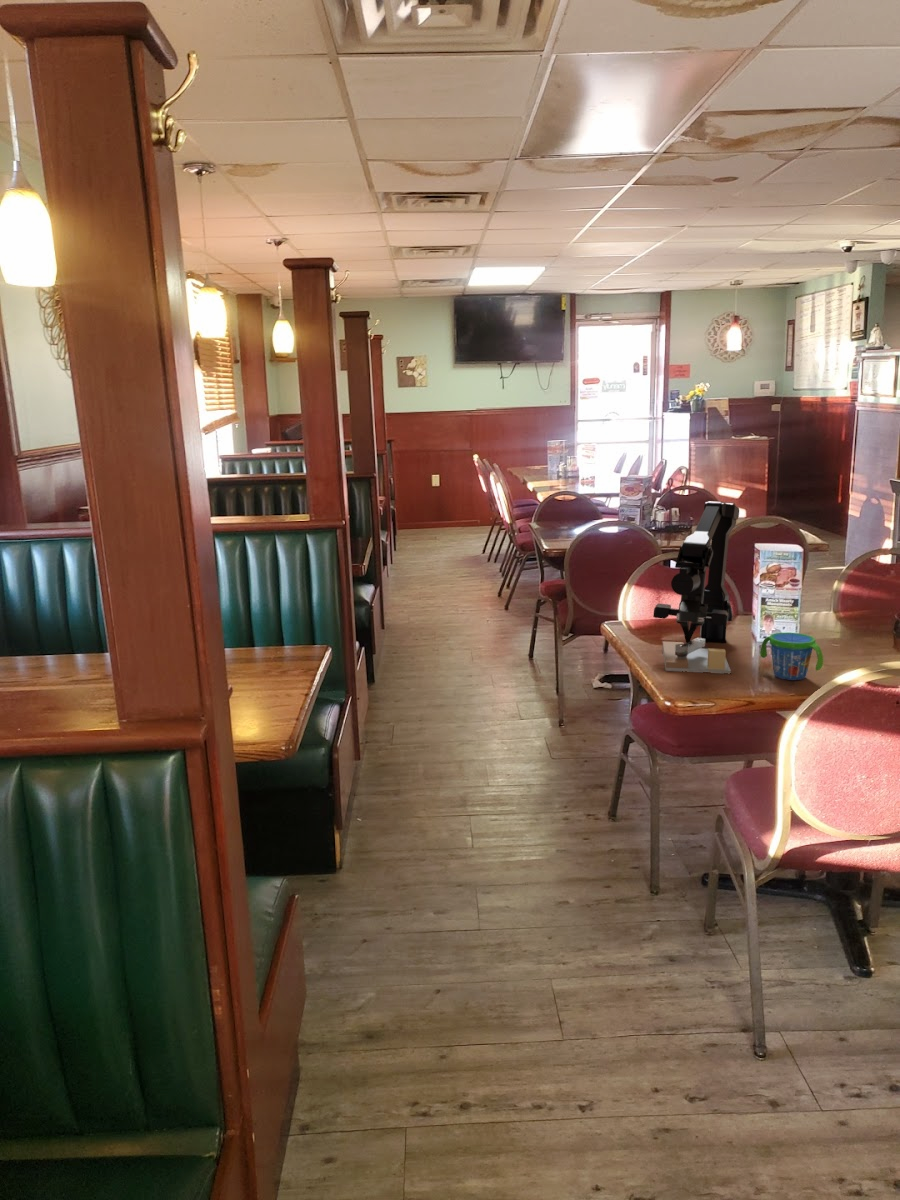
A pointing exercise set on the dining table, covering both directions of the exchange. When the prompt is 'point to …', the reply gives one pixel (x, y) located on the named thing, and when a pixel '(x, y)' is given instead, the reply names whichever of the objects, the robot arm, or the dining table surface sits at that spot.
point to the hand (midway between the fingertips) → (687, 645)
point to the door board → (695, 660)
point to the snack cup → (791, 654)
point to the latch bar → (689, 647)
